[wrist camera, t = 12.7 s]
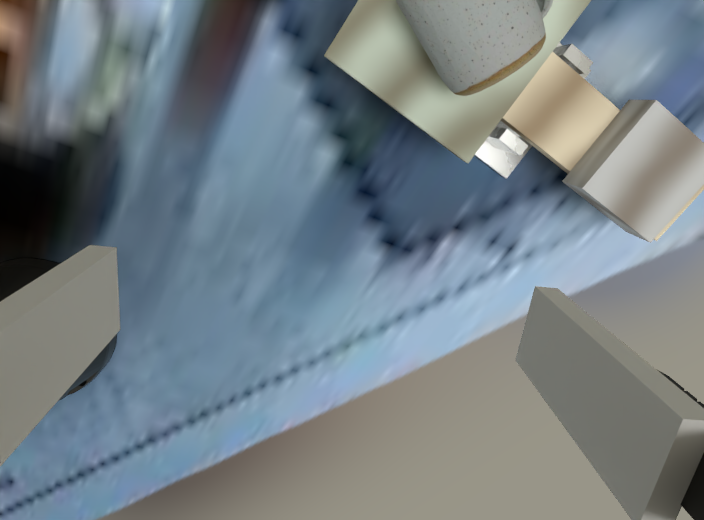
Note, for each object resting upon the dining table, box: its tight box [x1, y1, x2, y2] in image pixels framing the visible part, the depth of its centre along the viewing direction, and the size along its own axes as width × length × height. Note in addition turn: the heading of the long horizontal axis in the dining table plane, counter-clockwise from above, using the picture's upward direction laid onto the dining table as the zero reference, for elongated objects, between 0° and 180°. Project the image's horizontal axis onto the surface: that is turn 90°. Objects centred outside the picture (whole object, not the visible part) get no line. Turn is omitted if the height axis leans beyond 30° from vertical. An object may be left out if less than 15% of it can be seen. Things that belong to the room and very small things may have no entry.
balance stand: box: [474, 43, 593, 179], centre depth 41 cm, size 8×12×7 cm, turn 145°
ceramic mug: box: [396, 0, 553, 96], centre depth 31 cm, size 11×8×8 cm
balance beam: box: [324, 0, 704, 243], centre depth 37 cm, size 33×15×5 cm, turn 55°
